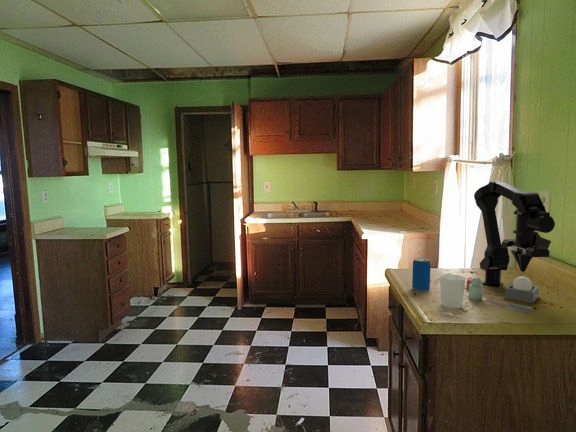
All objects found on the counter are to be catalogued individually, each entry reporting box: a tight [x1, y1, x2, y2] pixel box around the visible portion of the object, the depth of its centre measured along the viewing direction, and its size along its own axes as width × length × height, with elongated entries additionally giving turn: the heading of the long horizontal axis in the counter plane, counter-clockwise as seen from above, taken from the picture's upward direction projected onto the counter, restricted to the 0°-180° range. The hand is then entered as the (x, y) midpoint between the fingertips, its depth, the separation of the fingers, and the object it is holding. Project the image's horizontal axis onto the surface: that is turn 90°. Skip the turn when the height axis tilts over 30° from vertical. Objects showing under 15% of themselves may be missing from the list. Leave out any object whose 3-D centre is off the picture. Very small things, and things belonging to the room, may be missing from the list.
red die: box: [466, 277, 473, 291], centre depth 160 cm, size 4×4×4 cm
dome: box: [512, 275, 533, 292], centre depth 149 cm, size 6×6×6 cm
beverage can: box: [411, 257, 432, 292], centre depth 160 cm, size 6×6×12 cm
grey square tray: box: [504, 282, 540, 304], centre depth 149 cm, size 9×9×4 cm
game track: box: [463, 295, 533, 313], centre depth 143 cm, size 6×20×1 cm, turn 49°
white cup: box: [439, 273, 466, 309], centre depth 142 cm, size 8×8×10 cm
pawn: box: [468, 276, 484, 302], centre depth 147 cm, size 4×4×8 cm
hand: (522, 271), depth 148 cm, fingers closed
